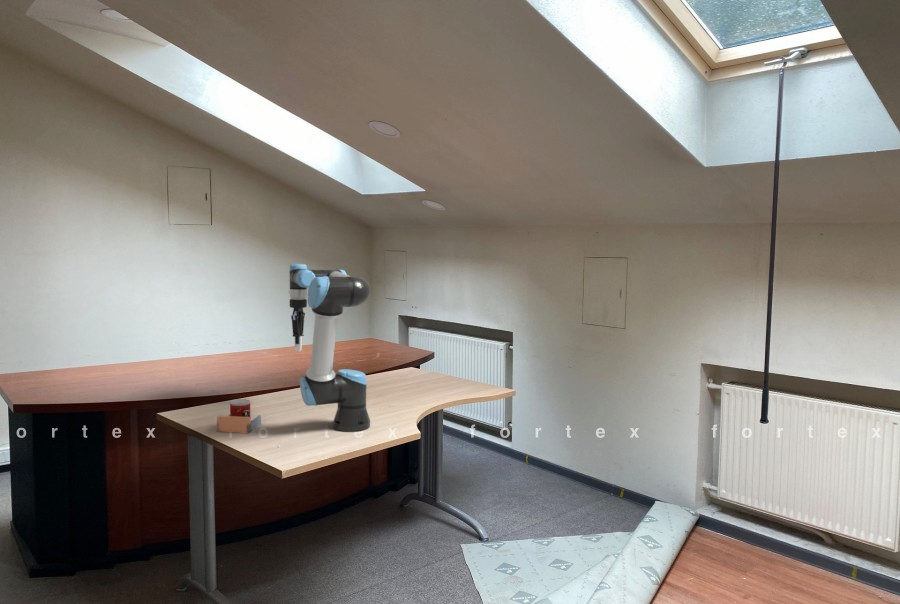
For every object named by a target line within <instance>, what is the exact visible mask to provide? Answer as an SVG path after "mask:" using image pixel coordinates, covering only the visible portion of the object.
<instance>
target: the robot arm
mask: <svg viewBox="0 0 900 604" xmlns="http://www.w3.org/2000/svg"><path fill="white" fill-rule="evenodd" d="M288 272H289V290H288V294H289V298H290V299H289V307H290V308H293V311H292V315H290V318H291V325H292V326H291V327H292V328H291V329H292V337H294V351H295V352H301V351H302V346H303V345H302V343H303V342H302V337H304V327H305V324H304V323H305V316H306V312H304V308H307V307H308V306H309V308H310V309H311V312H313V314H314V325H313V326H314V327H313V334H312V335H313V337H312V345H311V346H312V347H311V355H310V356H311V357H310V367H309V368H307V370H306V371H305V376H302V377H300V379H299V387H300V388H299V389H300V394H301V398H302V401H303V402H304V404H305V405H306V406H308V407H311V406H315V407H317V406H321V405H324V406H325V405H332V404H337V408H336V412H335V414H334V418H333V421H332V427H333V429H335V430H337V431H339V432H340V431H341V432H361V431H364V429H365V430H367V429H369V428H370V427H371V419H370V416H369V412H368V410H367V385H368V383H367V374H366V373H364V372H363V371H359V370H355V369H349V368H348V369H346V368H345V369H343V368H342V369H338V370H337V374H336V372H335V371H334V369H333V366H334V357H335V349H336V348H335V347H336V339H337V329H338V320H339V317H340V316H341V315H342V314H343V311H344V308H351V307H353V308H354V307H357V306H360V305H362V304H363V303H365V302H366V301H367V300H368V299H369V297H370V295H371V286H370V283H369V281H367V280H366V279H365V278H364V277H361V276H350V275H348V274H347V273H346V271H345V270H344V269H340V268H339V269H308V266H307V264H304V263H292V264H290V265H289V271H288ZM360 430H361V431H360Z"/></svg>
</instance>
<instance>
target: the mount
mask: <svg viewBox="0 0 900 604" xmlns="http://www.w3.org/2000/svg"><path fill="white" fill-rule="evenodd" d="M251 419H252V417H251V416H250V417H240V416H230V414H228V415H217V416H216V432H217V431H225V432H224V433H239V432H241V434H243V433H245V434H246V433H247V434H250V433H251V432H253V431H254V430H255V429H256V428H257V427H259V426H260V425H261V424H262V415H260V414H259V415H257V416H256V417H254V418H253V419H252V420H251ZM258 425H259V426H258ZM253 429H254V430H253ZM242 432H243V433H242Z"/></svg>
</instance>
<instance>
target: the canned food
mask: <svg viewBox="0 0 900 604" xmlns="http://www.w3.org/2000/svg"><path fill="white" fill-rule="evenodd" d="M229 410H230V411H229V415H230V416H240V417H251V400H250V399H247V398H238V399H233V400H230V403H229Z"/></svg>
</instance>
